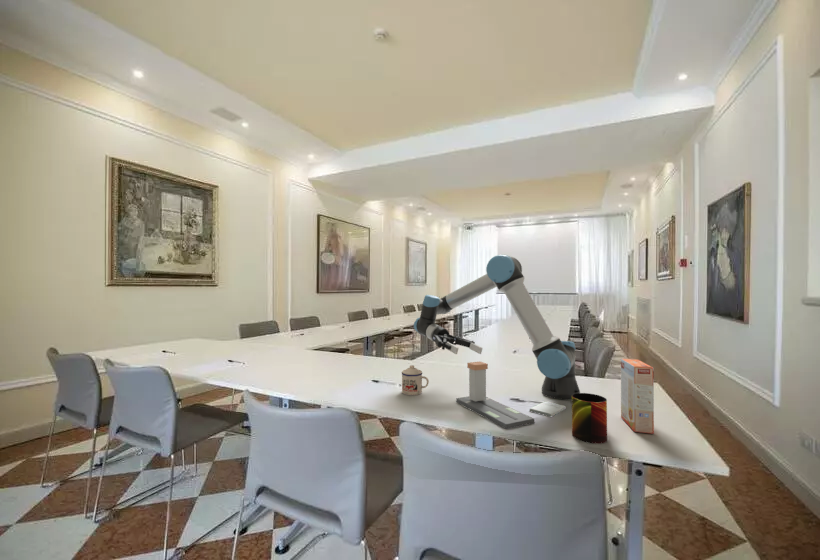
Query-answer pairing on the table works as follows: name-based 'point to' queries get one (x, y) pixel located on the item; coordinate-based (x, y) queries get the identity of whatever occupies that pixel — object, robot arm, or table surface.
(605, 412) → the mug
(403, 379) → the teacup with lid
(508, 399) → the table surface
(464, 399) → the fader console
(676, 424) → the table surface
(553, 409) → the external hard drive
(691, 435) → the table surface
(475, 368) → the fader lever
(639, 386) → the cracker box
